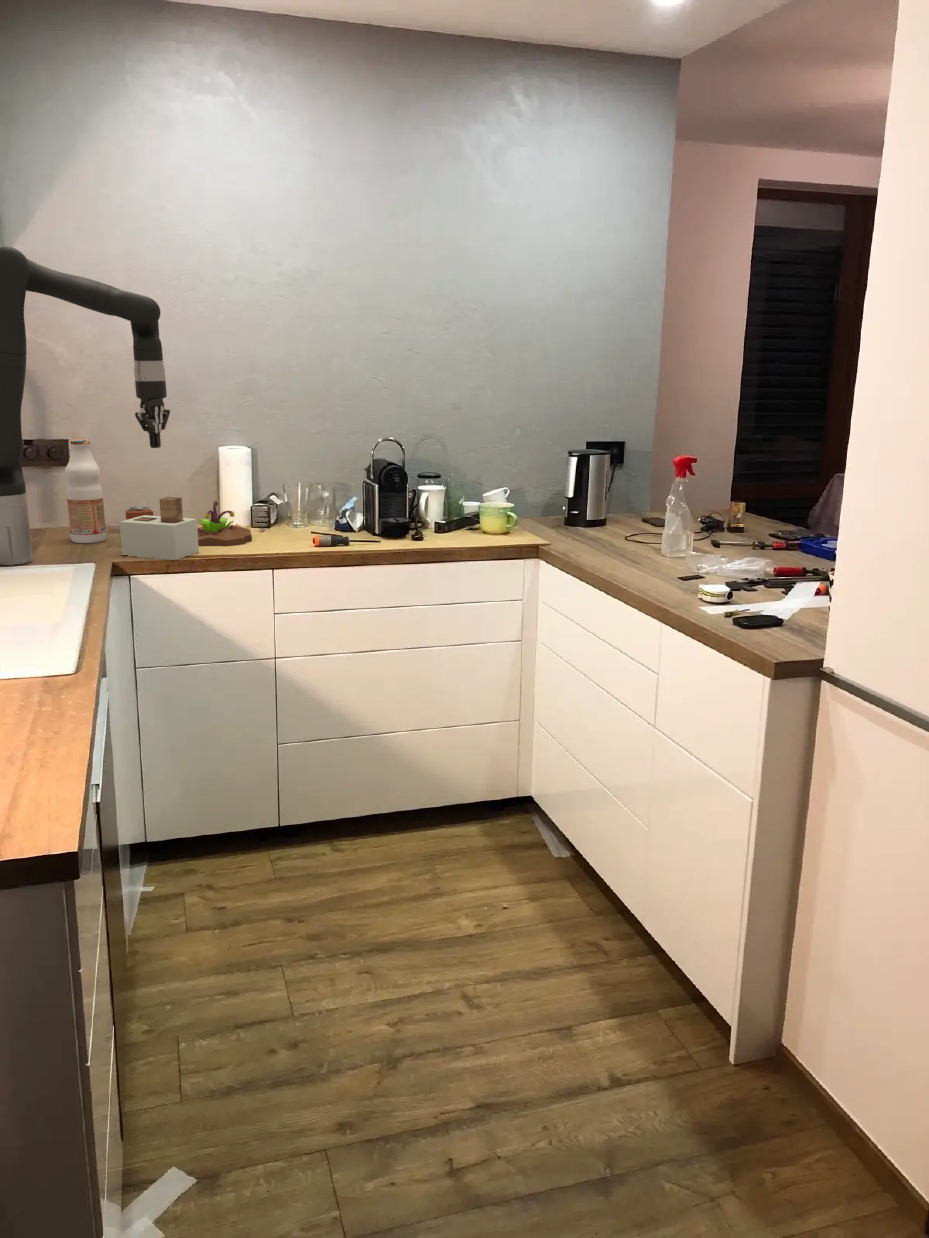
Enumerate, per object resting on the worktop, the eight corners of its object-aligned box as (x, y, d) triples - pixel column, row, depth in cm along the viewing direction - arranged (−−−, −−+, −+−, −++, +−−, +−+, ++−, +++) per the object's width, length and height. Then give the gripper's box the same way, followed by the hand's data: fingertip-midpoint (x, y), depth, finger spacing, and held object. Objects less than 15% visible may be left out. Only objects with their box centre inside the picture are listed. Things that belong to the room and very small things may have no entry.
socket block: (175, 560, 254) (173, 525, 252) (122, 555, 259) (119, 521, 256) (198, 552, 265) (196, 518, 262) (146, 548, 269) (144, 515, 267)
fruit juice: (77, 545, 272) (68, 442, 264) (66, 539, 279) (56, 439, 271) (111, 541, 277) (103, 440, 270) (99, 536, 284) (91, 437, 277)
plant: (257, 534, 292) (255, 497, 289) (247, 547, 274) (245, 507, 271) (188, 534, 291) (186, 496, 288) (173, 547, 272) (171, 506, 269)
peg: (175, 534, 257) (172, 499, 254) (161, 533, 258) (159, 499, 255) (183, 531, 260) (181, 497, 258) (170, 530, 261) (168, 496, 259)
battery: (127, 542, 277) (124, 506, 274) (152, 540, 280) (149, 505, 277) (130, 544, 273) (127, 508, 271) (155, 542, 276) (153, 507, 274)
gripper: (148, 380, 245) (154, 450, 250) (177, 378, 258) (182, 445, 262) (122, 380, 247) (128, 449, 252) (151, 378, 260) (157, 444, 264)
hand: (155, 447), depth 257 cm, fingers closed
